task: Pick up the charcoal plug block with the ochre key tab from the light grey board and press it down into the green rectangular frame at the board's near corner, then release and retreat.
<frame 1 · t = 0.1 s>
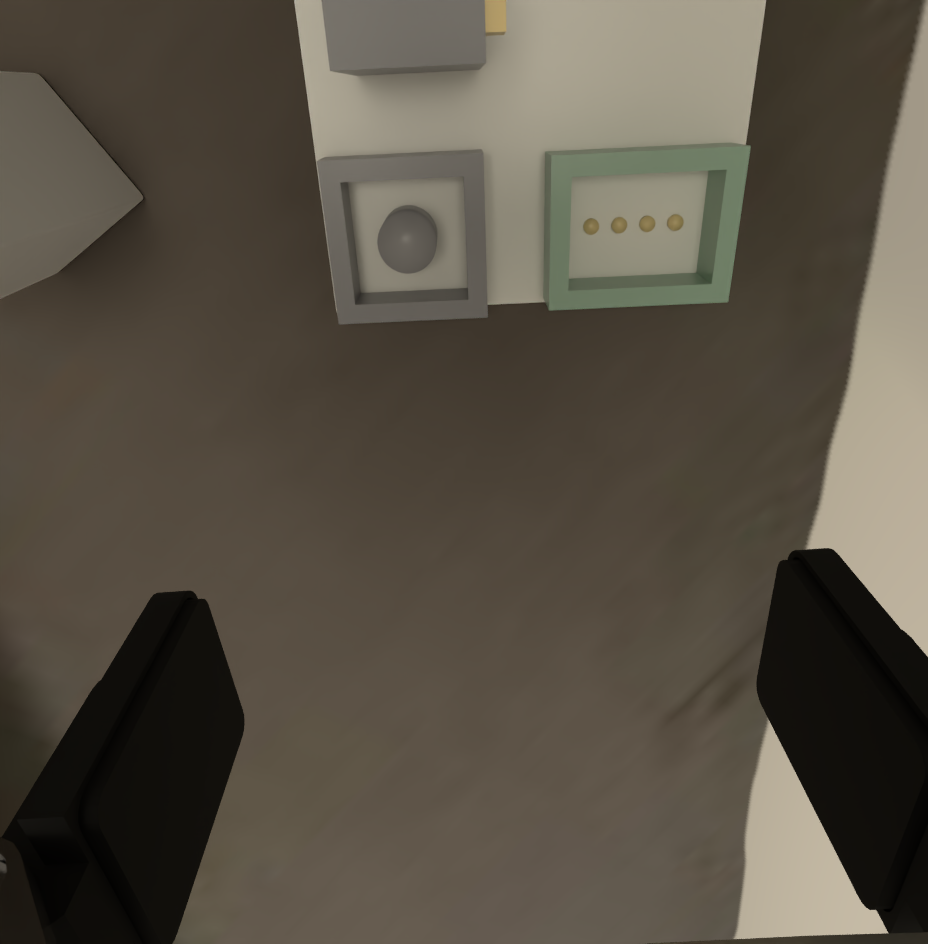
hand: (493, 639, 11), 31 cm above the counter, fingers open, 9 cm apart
plug: (414, 23, 32), point 1 cm above the counter, touching board
green rectangular frame: (627, 220, 38), resting on board
board: (528, 145, 36), on the counter
milk carton: (51, 178, 36), on the counter
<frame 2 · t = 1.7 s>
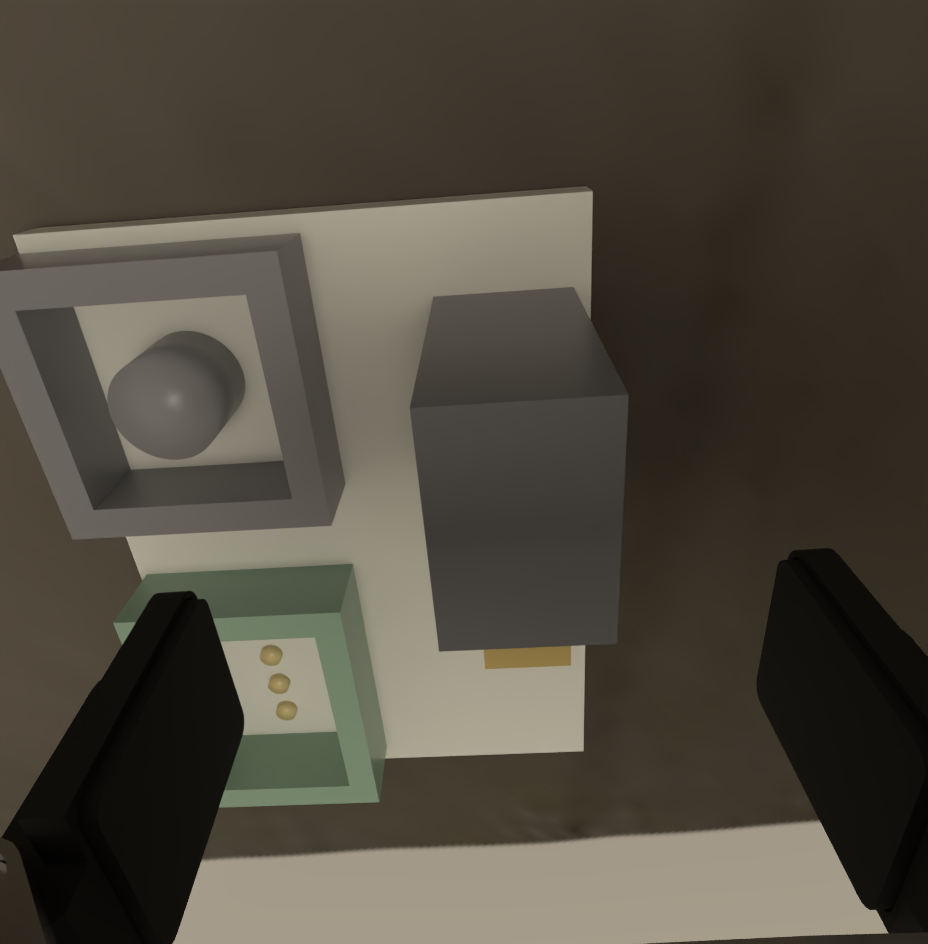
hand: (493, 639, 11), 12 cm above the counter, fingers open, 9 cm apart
plug: (507, 389, 21), point 1 cm above the counter, touching board
green rectangular frame: (283, 645, 28), resting on board
board: (361, 527, 25), on the counter
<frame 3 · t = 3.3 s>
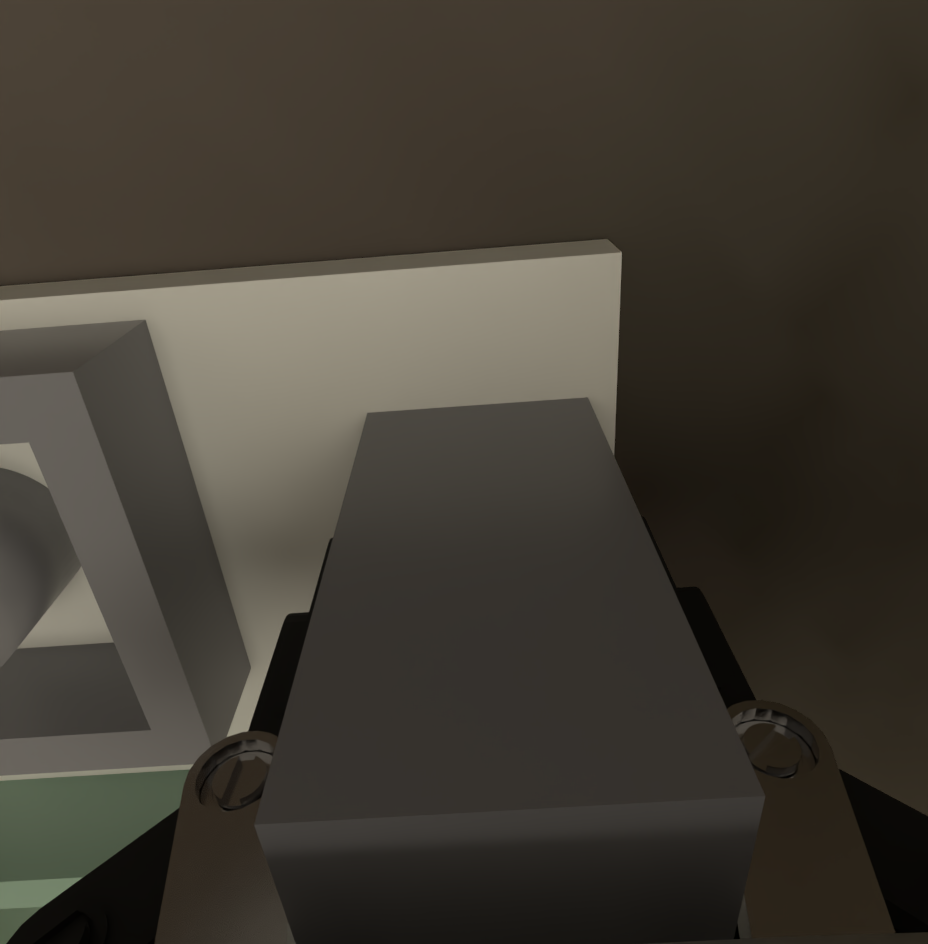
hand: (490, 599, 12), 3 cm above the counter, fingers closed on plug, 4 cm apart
plug: (486, 541, 14), point 1 cm above the counter, touching board, gripper
green rectangular frame: (188, 843, 20), resting on board
board: (284, 704, 18), on the counter
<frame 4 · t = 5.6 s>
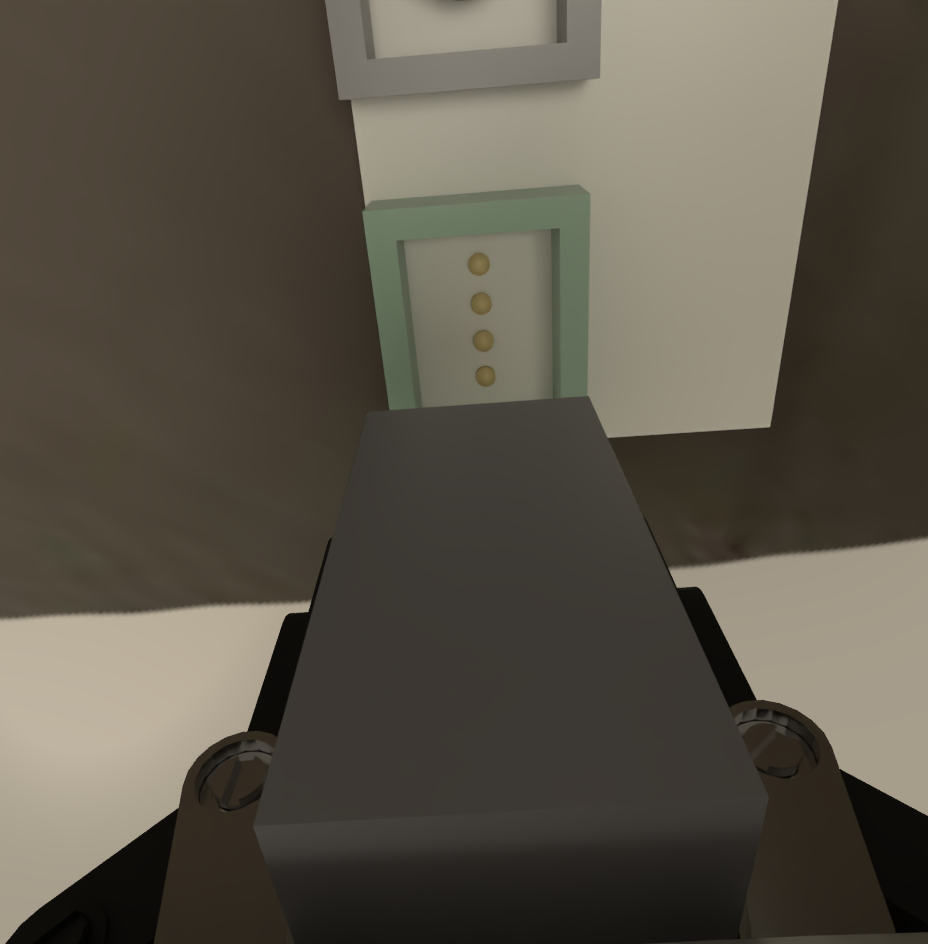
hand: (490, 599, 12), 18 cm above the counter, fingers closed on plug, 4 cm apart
plug: (486, 541, 14), point 16 cm above the counter, touching gripper
green rectangular frame: (481, 312, 28), resting on board
board: (580, 158, 25), on the counter
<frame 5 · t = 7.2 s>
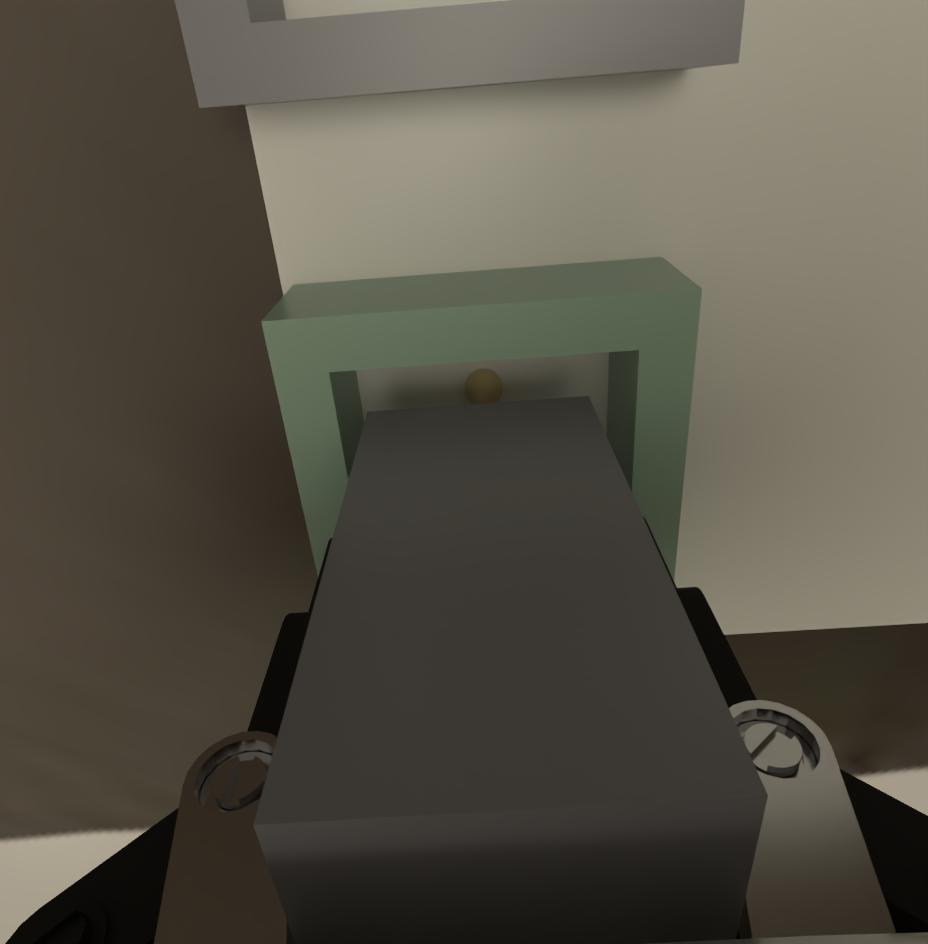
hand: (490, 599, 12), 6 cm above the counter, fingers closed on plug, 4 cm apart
plug: (486, 540, 14), point 4 cm above the counter, touching gripper
green rectangular frame: (487, 451, 17), resting on board
board: (661, 207, 14), on the counter
when the fingers open (5 cm above the counter, at t = 8.4 s): plug drops 1 cm, resting on green rectangular frame.
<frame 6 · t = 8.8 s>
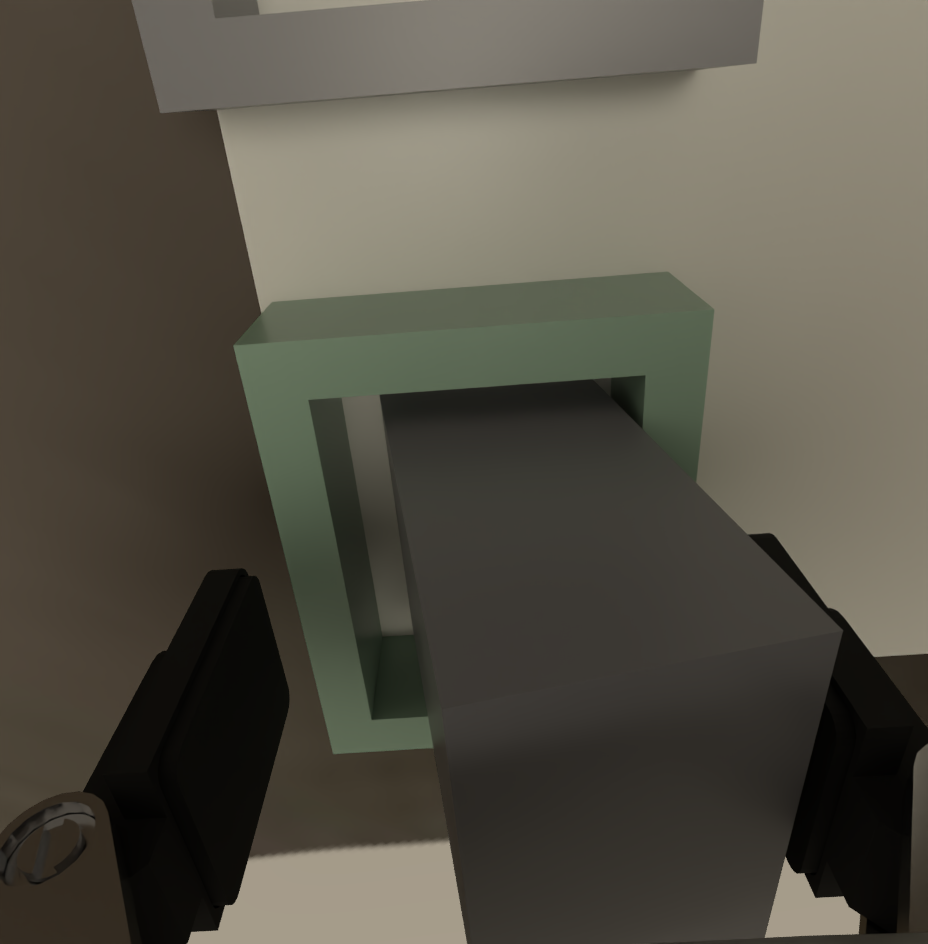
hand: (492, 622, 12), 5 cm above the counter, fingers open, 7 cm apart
plug: (488, 507, 15), point 2 cm above the counter, tilted 10°, touching green rectangular frame
green rectangular frame: (481, 475, 16), resting on board
board: (666, 218, 13), on the counter
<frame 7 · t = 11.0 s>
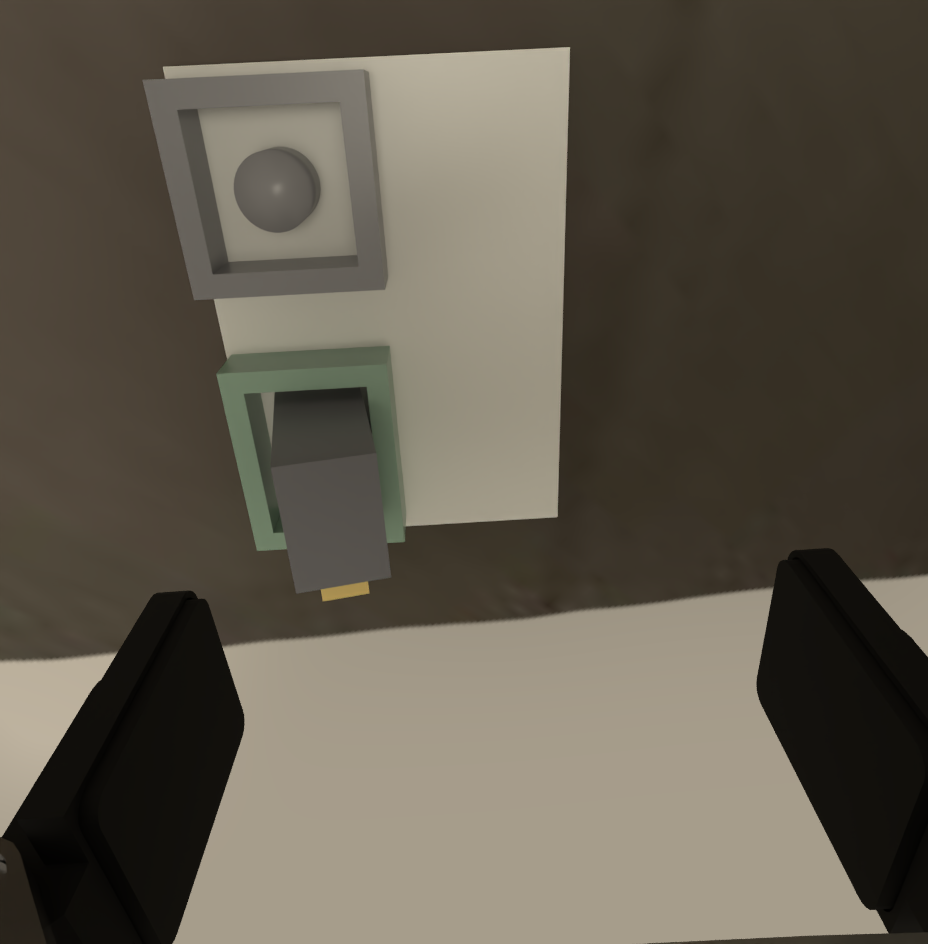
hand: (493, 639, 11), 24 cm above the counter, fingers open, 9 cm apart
plug: (325, 442, 34), point 2 cm above the counter, tilted 10°, touching board, green rectangular frame
green rectangular frame: (327, 429, 36), resting on board
board: (394, 322, 33), on the counter
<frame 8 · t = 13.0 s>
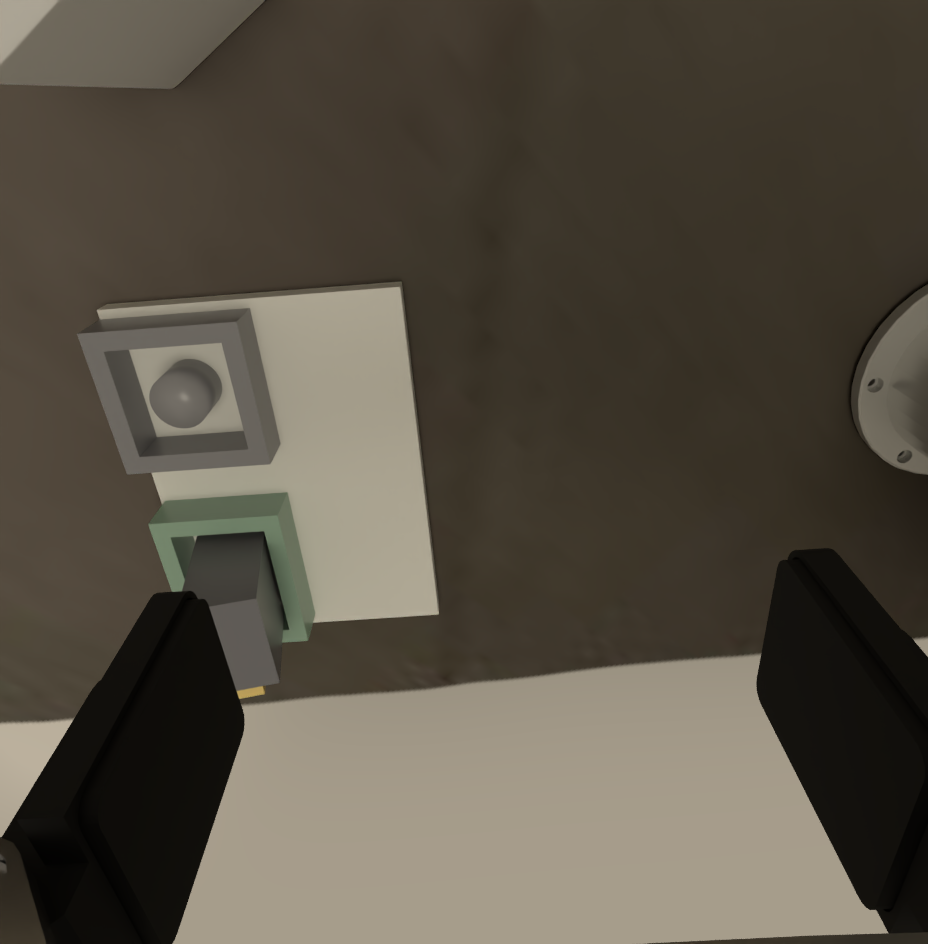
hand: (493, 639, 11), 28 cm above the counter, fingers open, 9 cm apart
plug: (243, 562, 43), point 2 cm above the counter, tilted 10°, touching board, green rectangular frame
green rectangular frame: (248, 549, 45), resting on board
board: (293, 471, 42), on the counter
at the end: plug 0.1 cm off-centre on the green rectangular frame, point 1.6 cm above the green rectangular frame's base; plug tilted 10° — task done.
